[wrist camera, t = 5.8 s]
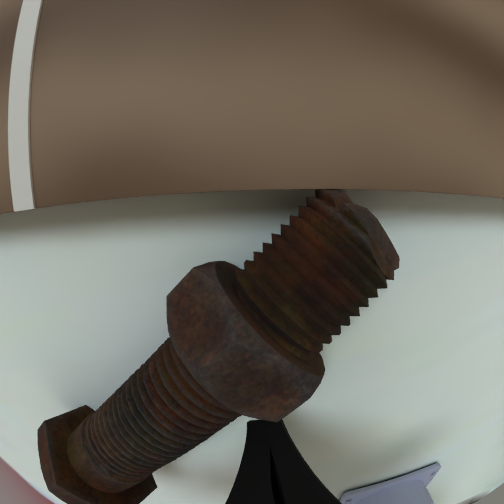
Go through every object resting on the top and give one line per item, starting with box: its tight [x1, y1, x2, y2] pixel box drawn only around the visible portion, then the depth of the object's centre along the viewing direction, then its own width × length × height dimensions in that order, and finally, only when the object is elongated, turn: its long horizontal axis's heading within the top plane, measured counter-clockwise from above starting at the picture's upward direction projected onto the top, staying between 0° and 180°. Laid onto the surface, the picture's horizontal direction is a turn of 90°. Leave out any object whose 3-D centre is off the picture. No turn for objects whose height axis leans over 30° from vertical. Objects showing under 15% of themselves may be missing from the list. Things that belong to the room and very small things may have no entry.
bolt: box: [38, 189, 399, 504], centre depth 9 cm, size 6×5×15 cm
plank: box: [0, 0, 504, 214], centre depth 7 cm, size 10×30×2 cm, turn 91°
